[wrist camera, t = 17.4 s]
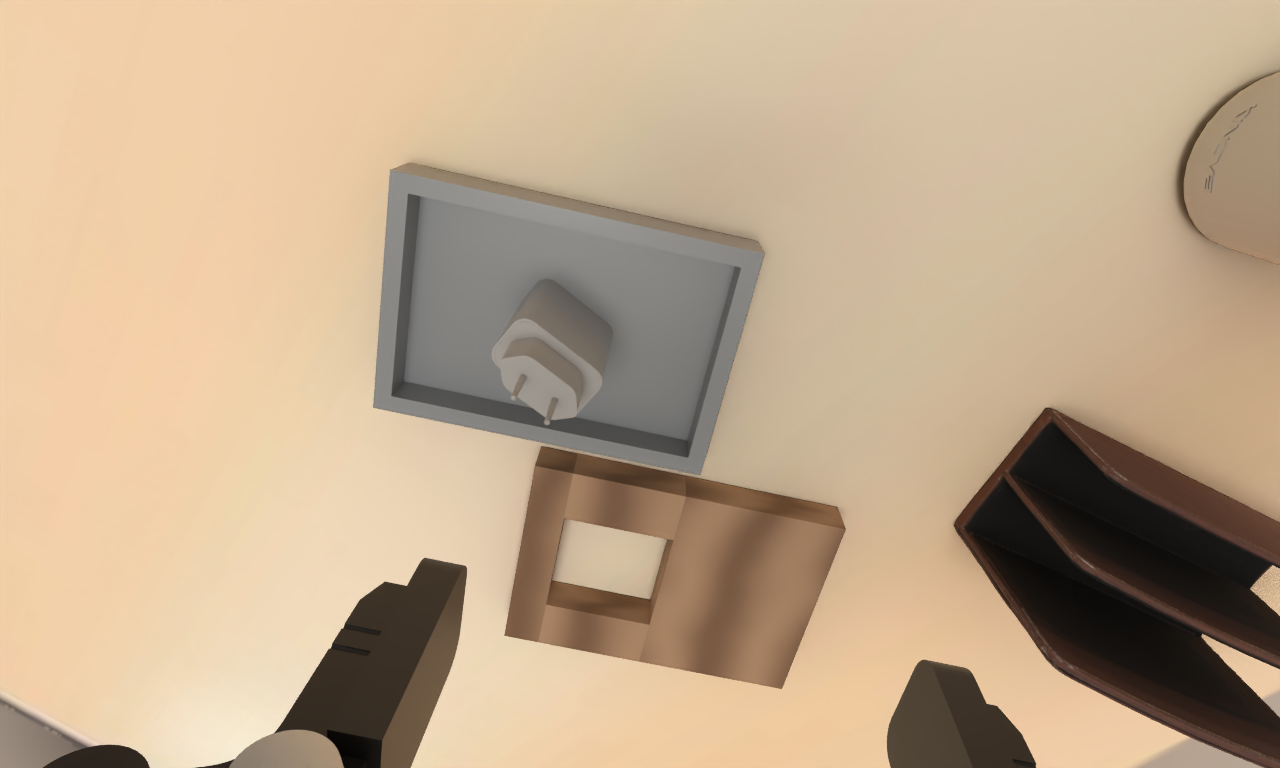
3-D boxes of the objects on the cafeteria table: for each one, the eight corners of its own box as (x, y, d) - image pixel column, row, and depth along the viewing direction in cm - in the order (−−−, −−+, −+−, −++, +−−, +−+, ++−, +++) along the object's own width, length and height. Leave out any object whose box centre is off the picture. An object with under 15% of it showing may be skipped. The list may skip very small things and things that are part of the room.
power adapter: (545, 273, 42) (500, 348, 31) (618, 331, 43) (600, 423, 32) (513, 312, 43) (459, 398, 32) (585, 368, 44) (557, 469, 33)
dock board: (837, 507, 48) (845, 529, 46) (777, 662, 54) (781, 688, 51) (541, 446, 47) (535, 465, 45) (511, 610, 53) (504, 635, 50)
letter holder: (1182, 630, 51) (1353, 819, 39) (948, 523, 49) (1049, 688, 36) (1291, 526, 48) (1522, 697, 35) (1044, 403, 45) (1196, 539, 32)
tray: (758, 241, 41) (764, 253, 38) (698, 451, 47) (700, 475, 44) (409, 162, 40) (390, 170, 37) (391, 387, 46) (373, 407, 43)
